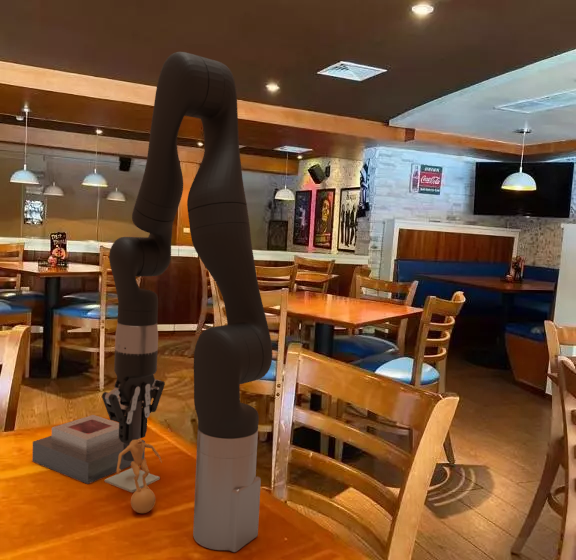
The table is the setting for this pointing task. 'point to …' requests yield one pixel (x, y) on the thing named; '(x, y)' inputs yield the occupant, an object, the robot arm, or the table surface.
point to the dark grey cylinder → (134, 429)
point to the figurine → (142, 496)
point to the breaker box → (82, 449)
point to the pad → (130, 480)
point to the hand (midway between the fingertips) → (132, 438)
